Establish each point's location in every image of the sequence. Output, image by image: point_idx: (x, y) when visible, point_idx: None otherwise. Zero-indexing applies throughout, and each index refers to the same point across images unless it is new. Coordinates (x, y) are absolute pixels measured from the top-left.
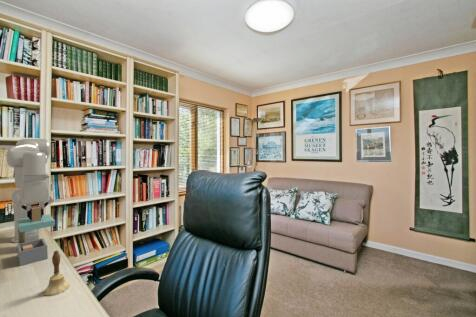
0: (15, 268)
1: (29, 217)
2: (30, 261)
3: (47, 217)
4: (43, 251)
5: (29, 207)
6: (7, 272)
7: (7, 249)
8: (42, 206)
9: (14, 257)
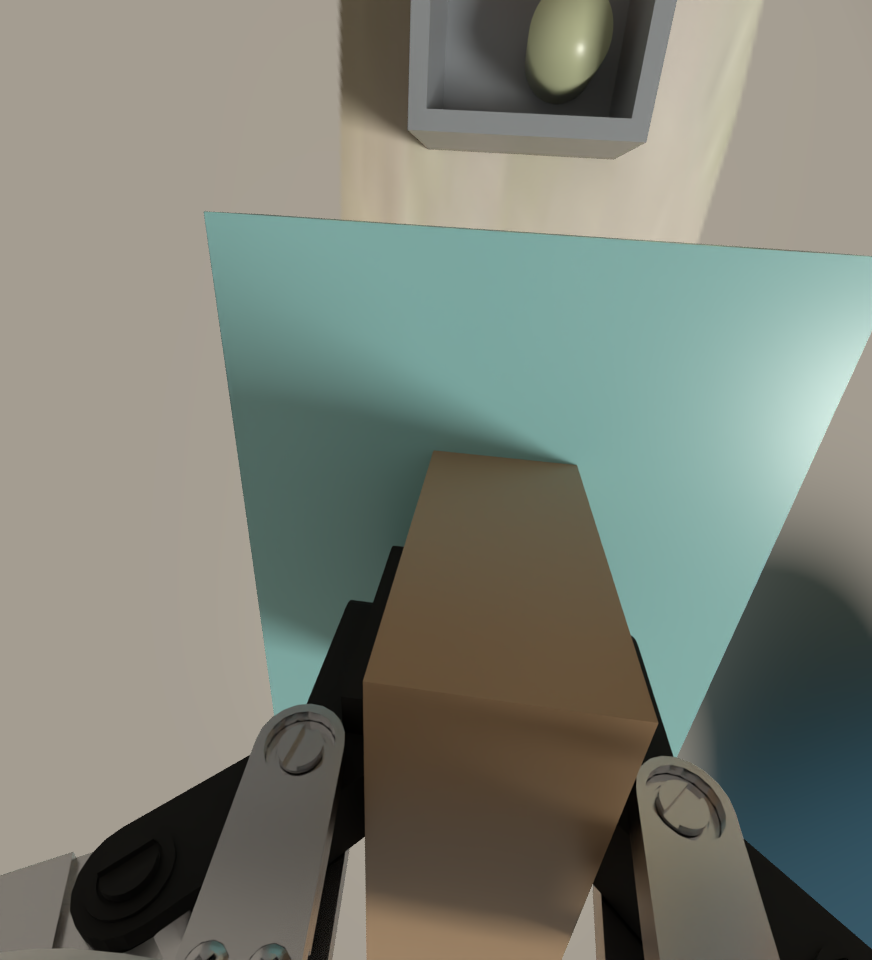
0: (401, 172)
1: None
2: (495, 149)
3: (677, 585)
4: (598, 148)
5: (317, 929)
6: (356, 212)
7: None
8: (629, 954)
9: None
